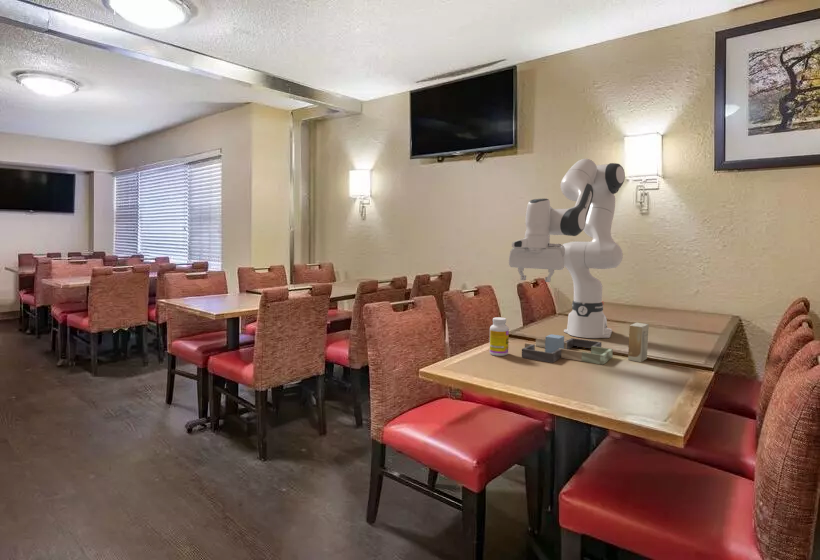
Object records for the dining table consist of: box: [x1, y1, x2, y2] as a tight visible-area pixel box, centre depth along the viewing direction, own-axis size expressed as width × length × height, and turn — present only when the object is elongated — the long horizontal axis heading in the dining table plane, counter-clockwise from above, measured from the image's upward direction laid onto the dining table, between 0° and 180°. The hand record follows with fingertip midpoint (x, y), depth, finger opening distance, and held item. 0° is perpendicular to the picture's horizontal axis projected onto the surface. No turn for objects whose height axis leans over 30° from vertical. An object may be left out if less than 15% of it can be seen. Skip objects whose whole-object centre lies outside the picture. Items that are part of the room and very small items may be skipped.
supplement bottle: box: [488, 316, 510, 357], centre depth 171 cm, size 7×7×13 cm
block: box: [544, 333, 565, 353], centre depth 173 cm, size 5×5×6 cm
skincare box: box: [627, 322, 650, 363], centre depth 163 cm, size 6×4×12 cm
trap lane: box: [521, 337, 614, 366], centre depth 170 cm, size 27×28×3 cm
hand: (535, 281), depth 176 cm, fingers open, 8 cm apart
